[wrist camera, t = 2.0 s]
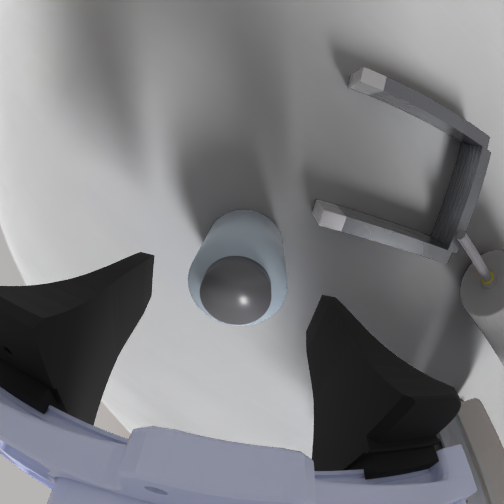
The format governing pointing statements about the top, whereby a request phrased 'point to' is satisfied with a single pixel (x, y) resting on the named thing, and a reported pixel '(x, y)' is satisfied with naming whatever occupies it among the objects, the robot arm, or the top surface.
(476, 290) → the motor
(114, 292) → the robot arm
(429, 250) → the clip cradle
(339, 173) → the top surface
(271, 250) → the light grey cylinder
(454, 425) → the network device
